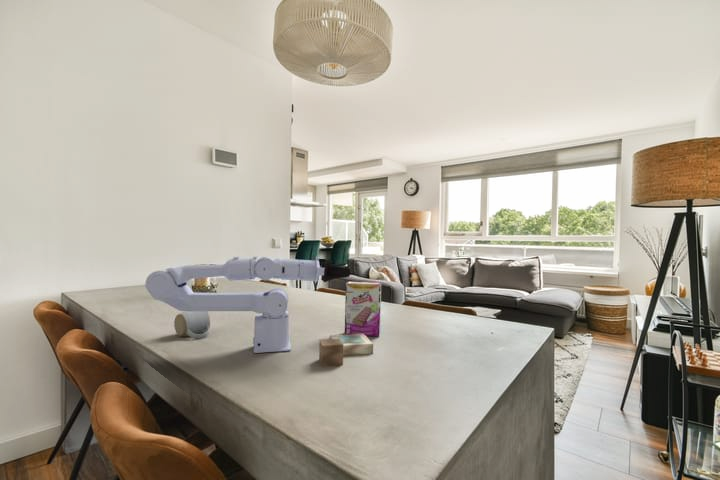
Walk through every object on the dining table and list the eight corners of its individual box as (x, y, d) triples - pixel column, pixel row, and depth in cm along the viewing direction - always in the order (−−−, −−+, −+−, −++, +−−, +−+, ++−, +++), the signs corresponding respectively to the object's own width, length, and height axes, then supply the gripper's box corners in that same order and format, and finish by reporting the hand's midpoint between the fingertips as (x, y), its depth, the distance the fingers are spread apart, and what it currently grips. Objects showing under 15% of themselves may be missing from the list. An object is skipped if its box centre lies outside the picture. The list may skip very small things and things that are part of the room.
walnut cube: (322, 367, 79) (322, 345, 79) (319, 359, 84) (319, 339, 84) (342, 365, 81) (343, 344, 81) (338, 358, 86) (339, 338, 86)
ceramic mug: (172, 335, 104) (172, 310, 103) (198, 329, 110) (198, 306, 110) (189, 342, 97) (190, 315, 97) (216, 336, 104) (216, 311, 104)
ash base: (335, 355, 87) (336, 345, 87) (329, 344, 97) (329, 335, 97) (373, 353, 89) (373, 343, 89) (363, 342, 99) (363, 333, 99)
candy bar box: (344, 335, 105) (345, 283, 105) (346, 331, 110) (347, 281, 110) (380, 337, 104) (380, 284, 104) (380, 332, 109) (381, 282, 109)
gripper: (300, 254, 87) (352, 257, 90) (299, 256, 101) (344, 258, 104) (298, 282, 87) (351, 284, 89) (298, 279, 101) (343, 282, 103)
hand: (347, 272), depth 96 cm, fingers open, 7 cm apart
